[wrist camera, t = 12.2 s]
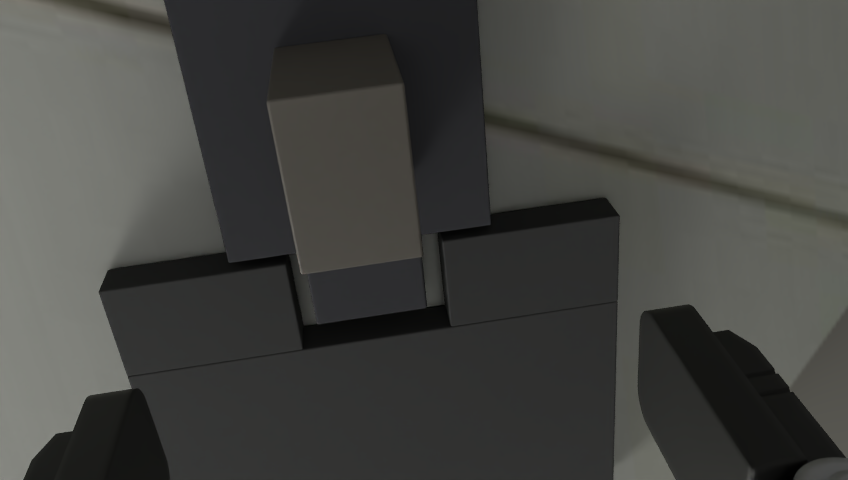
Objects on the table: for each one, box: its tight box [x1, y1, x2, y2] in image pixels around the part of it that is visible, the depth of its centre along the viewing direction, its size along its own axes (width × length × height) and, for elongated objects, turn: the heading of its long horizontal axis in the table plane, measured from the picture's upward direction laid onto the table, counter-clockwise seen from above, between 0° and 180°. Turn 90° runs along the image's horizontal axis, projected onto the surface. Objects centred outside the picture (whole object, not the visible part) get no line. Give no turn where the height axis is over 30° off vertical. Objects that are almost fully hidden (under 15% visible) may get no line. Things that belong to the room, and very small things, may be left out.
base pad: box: [99, 198, 620, 480], centre depth 32 cm, size 18×14×2 cm
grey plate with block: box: [164, 0, 491, 324], centre depth 24 cm, size 9×12×6 cm
